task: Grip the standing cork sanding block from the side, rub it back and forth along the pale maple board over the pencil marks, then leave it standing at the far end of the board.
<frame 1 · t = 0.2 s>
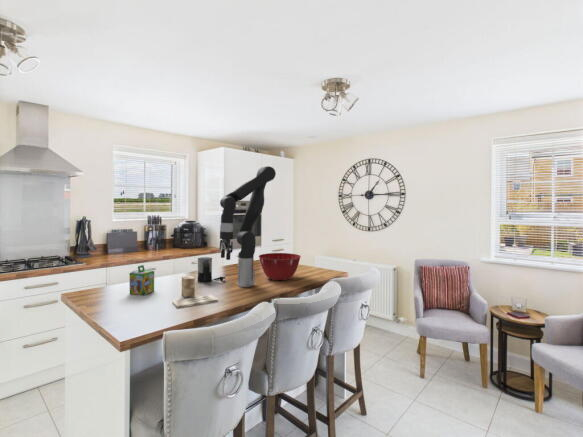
hand: (225, 258, 179), 18 cm above the table, tool pointing down, fingers open, 8 cm apart
milk frother: (211, 281, 196), on the table
green patterned box: (142, 293, 168), on the table
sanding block: (188, 296, 163), on the table
mixing bowl: (279, 278, 208), on the table
board: (195, 302, 154), on the table
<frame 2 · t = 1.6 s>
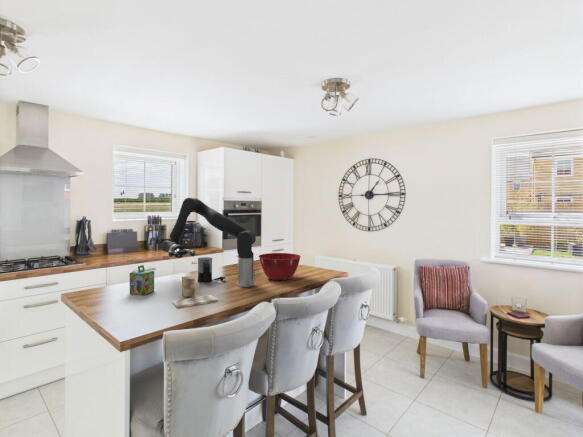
hand: (185, 254, 172), 20 cm above the table, tool horizontal, fingers open, 8 cm apart
nothing on the table moved.
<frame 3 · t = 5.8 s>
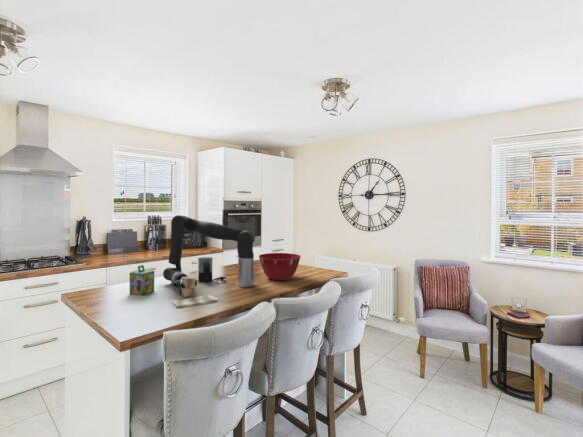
hand: (189, 285, 161), 6 cm above the table, tool horizontal, fingers closed on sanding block, 5 cm apart
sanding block: (188, 296, 163), on the table, touching gripper
everything else where it was.
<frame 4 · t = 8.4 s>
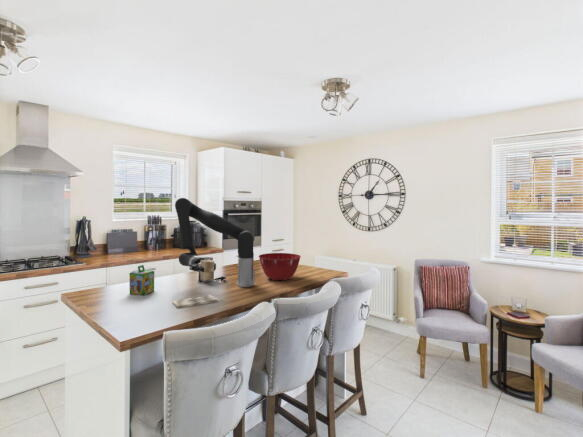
hand: (208, 269, 154), 16 cm above the table, tool horizontal, fingers closed on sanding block, 5 cm apart
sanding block: (206, 280, 157), point 10 cm above the table, touching gripper
everything else where it was.
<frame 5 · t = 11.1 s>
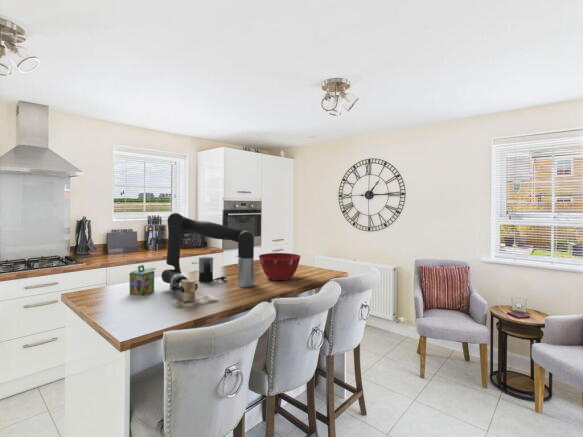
hand: (189, 289, 149), 7 cm above the table, tool horizontal, fingers closed on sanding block, 5 cm apart
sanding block: (187, 300, 151), point 1 cm above the table, touching gripper
everything else where it was.
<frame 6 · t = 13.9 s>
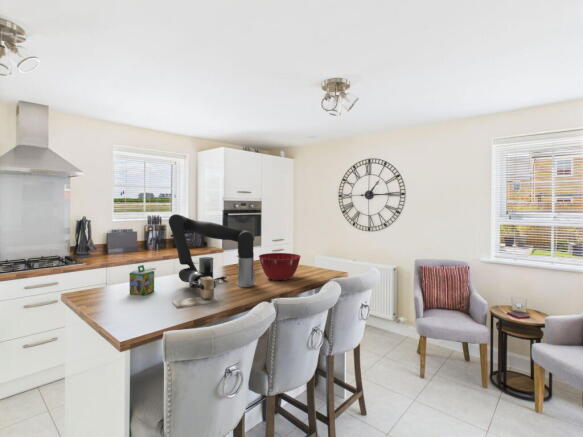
hand: (208, 287, 155), 7 cm above the table, tool horizontal, fingers closed on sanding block, 5 cm apart
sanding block: (206, 297, 157), point 1 cm above the table, touching gripper
everything else where it was.
when the fingers open (7 cm above the table, at t = 16.3 s): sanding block stays where it is, resting on board.
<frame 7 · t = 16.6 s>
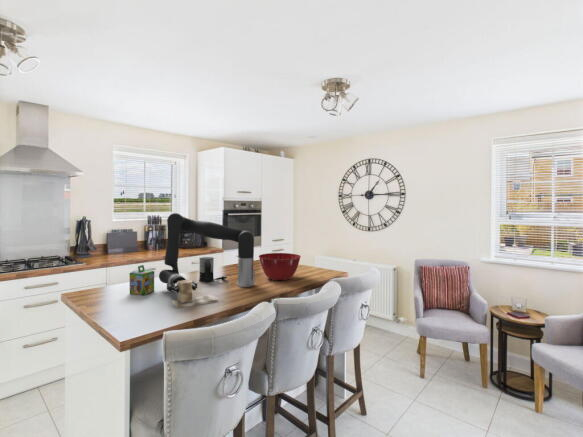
hand: (186, 289, 149), 8 cm above the table, tool horizontal, fingers open, 7 cm apart
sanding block: (185, 301, 151), point 1 cm above the table, touching board
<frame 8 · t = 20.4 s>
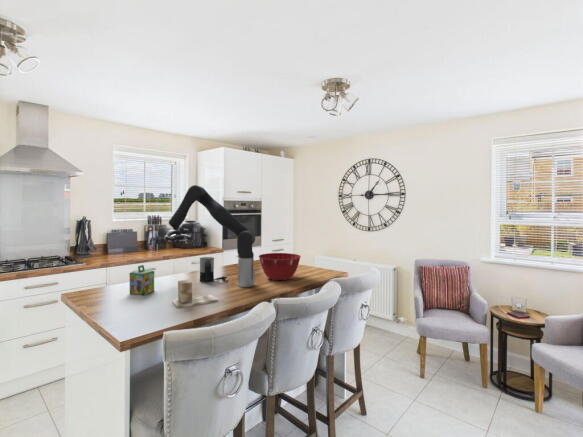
hand: (182, 239, 164), 30 cm above the table, tool horizontal, fingers open, 8 cm apart
at the end: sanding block inside the target area on the board (0.8 cm from its centre), point 1.1 cm above the board's base; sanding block tilted 1°; the gripper is holding nothing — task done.
